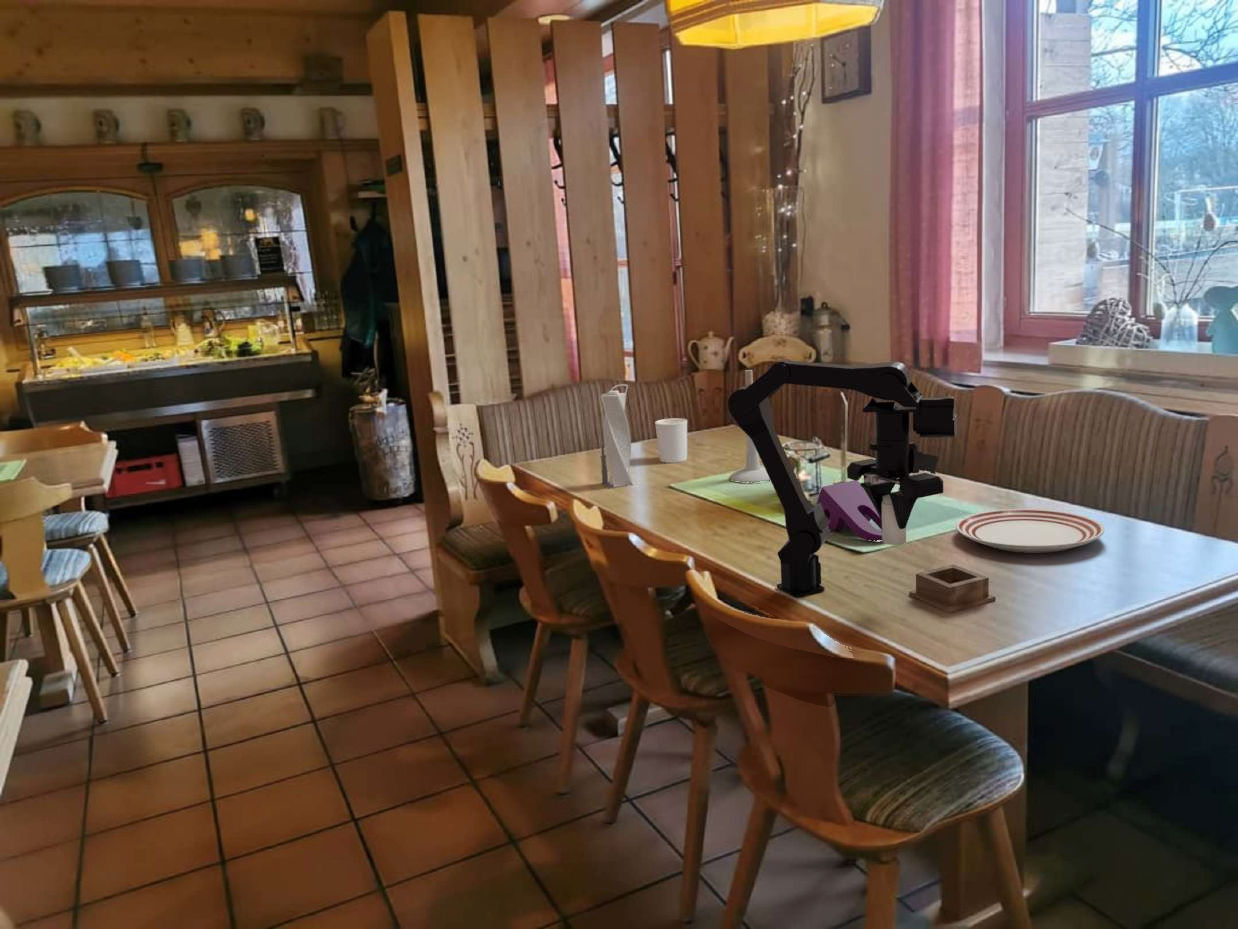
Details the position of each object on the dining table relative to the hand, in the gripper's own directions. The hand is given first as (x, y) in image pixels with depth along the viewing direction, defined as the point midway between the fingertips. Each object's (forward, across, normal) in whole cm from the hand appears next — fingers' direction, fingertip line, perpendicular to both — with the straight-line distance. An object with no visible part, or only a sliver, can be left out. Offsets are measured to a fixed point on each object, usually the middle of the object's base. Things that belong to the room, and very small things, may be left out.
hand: (893, 525), depth 163 cm
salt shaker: (+3, 0, 0) cm, 3 cm away
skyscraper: (+13, +108, +6) cm, 109 cm away
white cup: (+13, +125, -18) cm, 127 cm away
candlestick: (+13, +90, -26) cm, 95 cm away
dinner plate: (+14, +10, -42) cm, 45 cm away
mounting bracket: (+14, +34, -18) cm, 41 cm away
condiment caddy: (+13, -6, -8) cm, 16 cm away
